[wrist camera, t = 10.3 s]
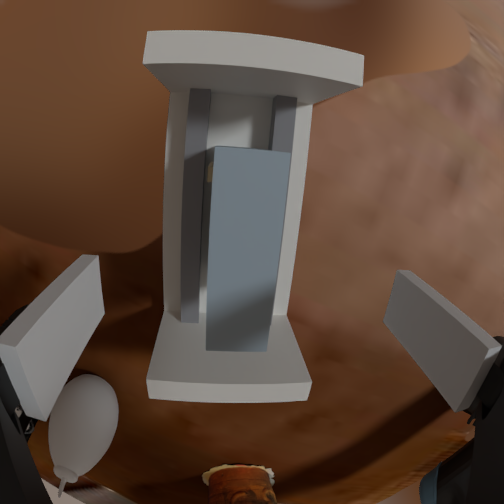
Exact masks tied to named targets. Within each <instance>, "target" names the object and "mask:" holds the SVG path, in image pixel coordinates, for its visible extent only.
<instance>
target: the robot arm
mask: <svg viewBox="0 0 504 504" xmlns="http://www.w3.org/2000/svg"><path fill="white" fill-rule="evenodd" d="M104 314H105V312H104V304H103V297H102V288H101V279H100V268H99V256H98V255H81V256H80V257H79V258H78V259H77V260H76V261H75V262H74V263H73V264H71V265H70V266H69V267H68V268H67V269H66V270H65V271H64V272H63V273H62V274H61V275H60V276H58V277H57V278H56V279H55V280H54V281H53V282H52V283H51V284H50V285H49V286H48V287H47V288H46V289H45V290H44V291H43V292H42V293H41V294H40V295H39V296H38V297H37V298H36V299H35V300H34V301H33V302H32V303H31V304H30V305H25V306H23V307H22V308H20V309H18V310H16V311H15V312H14V313H13V314H12V315H11V316H10V317H9V318H8V320H6V321H5V322H4V323H3V324H2V326H0V504H53V503H52V501H51V500H50V497H49V495H48V493H47V491H46V489H45V486H44V484H43V482H42V480H41V477H40V475H39V473H38V470H37V468H36V466H35V463H34V461H33V458H32V456H31V453H30V450H29V448H28V445H27V442H26V439H25V436H24V433H23V430H22V427H21V424H20V421H19V418H18V416H17V414H16V412H15V409H16V407H17V406H18V404H19V402H20V404H21V406H22V408H23V410H24V412H25V414H26V416H29V417H32V418H36V419H39V420H42V421H47V419H48V416H49V414H50V412H51V410H52V408H53V406H54V404H55V402H56V400H57V398H58V396H59V394H60V392H61V390H62V389H63V387H64V385H65V383H66V381H67V379H68V377H69V375H70V373H71V372H72V370H73V368H74V366H75V364H76V362H77V361H78V359H79V357H80V355H81V353H82V352H83V350H84V348H85V346H86V345H87V343H88V341H89V339H90V338H91V336H92V334H93V332H94V331H95V329H96V327H97V326H98V324H99V322H100V321H101V319H102V317H103V316H104ZM383 322H384V324H385V325H386V326H387V327H388V328H389V330H390V331H391V332H392V333H393V335H394V336H395V337H396V338H397V339H398V341H399V342H400V343H401V344H402V345H403V347H404V348H405V349H406V350H407V352H408V353H409V354H410V355H411V357H412V358H413V359H414V360H415V362H416V363H417V364H418V365H419V367H420V368H421V369H422V370H423V372H424V373H425V374H426V375H427V377H428V378H429V379H430V381H431V382H432V383H433V384H434V386H435V387H436V388H437V390H438V391H439V392H440V394H441V395H442V396H443V397H444V399H445V400H446V401H447V403H448V404H449V405H450V407H451V408H452V409H453V411H454V412H455V413H456V412H459V411H462V410H463V411H464V412H466V413H468V414H470V415H471V416H470V418H469V419H468V422H467V424H470V422H471V421H472V419H475V418H476V420H475V422H474V423H473V425H474V426H475V437H474V438H473V439H472V440H470V441H469V442H468V443H467V444H465V445H464V446H463V447H462V448H460V449H459V450H458V451H457V452H455V453H454V454H453V455H451V456H450V457H449V458H447V459H446V460H444V461H443V462H440V463H439V464H438V465H437V467H435V468H434V469H433V470H431V471H430V472H429V473H427V474H426V475H425V476H424V477H423V478H422V480H421V482H420V487H419V492H420V493H419V494H420V500H421V504H504V337H501V336H498V337H494V338H493V337H491V336H490V335H489V334H488V333H487V332H486V331H485V330H483V329H482V328H481V327H480V326H479V325H477V324H476V323H475V322H474V321H473V320H472V319H470V318H469V317H468V316H467V315H466V314H464V313H463V312H462V311H461V310H460V309H458V308H457V307H456V306H455V305H453V304H452V303H451V302H450V301H448V300H447V299H446V298H445V297H443V296H442V295H441V294H440V293H438V292H437V291H436V290H435V289H433V288H432V287H431V286H429V285H428V284H427V283H426V282H424V281H423V280H422V279H420V278H419V277H418V276H416V275H415V274H414V273H413V272H411V271H410V270H397V272H396V276H395V280H394V284H393V288H392V291H391V295H390V299H389V302H388V306H387V309H386V313H385V316H384V320H383Z"/></svg>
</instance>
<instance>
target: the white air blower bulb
mask: <svg viewBox="0 0 504 504" xmlns="http://www.w3.org/2000/svg"><path fill="white" fill-rule="evenodd" d="M118 413H119V409H118V402H117V397H116V394H115V392H114V390H113V388H112V387H111V385H110V384H108V383H107V382H106V381H105V380H104V379H102V378H101V377H99V376H96V375H91V374H83V375H80V376H78V377H76V378H74V379H72V380H71V381H70V382H68V383H67V384H66V385H65V387H64V388H63V389H62V390H61V392H60V394H59V396H58V398H57V400H56V402H55V404H54V406H53V408H52V411H51V415H50V421H49V433H48V437H49V448H50V453H51V457H52V460H53V463H54V465H55V467H54V473H55V475H56V476H57V477H59V478H60V479H61V483H60V487H59V492H58V497H60V496H61V494H62V491H63V489H64V486H65V483H66V481H67V482H70V483H74V482H76V481H77V480H78V476H81V475H83V474H85V473H86V472H88V471H89V470H90V469H92V468H93V467H94V466H95V465H96V464H97V463H98V462H99V460H100V459H101V458H102V457H103V455H104V454H105V453H106V451H107V449H108V448H109V446H110V444H111V442H112V439H113V437H114V434H115V431H116V428H117V423H118Z"/></svg>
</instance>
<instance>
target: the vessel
mask: <svg viewBox="0 0 504 504" xmlns="http://www.w3.org/2000/svg"><path fill="white" fill-rule="evenodd" d="M273 475H274V473H273V472H272V471H271V468H268V469H265V467H264V466H254V465H251V466H246V465H227V464H225V465H223V466H219V467H215V468H212V469H210V471H208V472H205V473H203V475H202V477H203V481H204V483H206V485H208V486H209V491H208V504H277V501H276V497H275V493H274V492H273V489H272V486H273V485H274V483H275V481H274V480H273V479H271V478H272V477H274V476H273Z"/></svg>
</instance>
